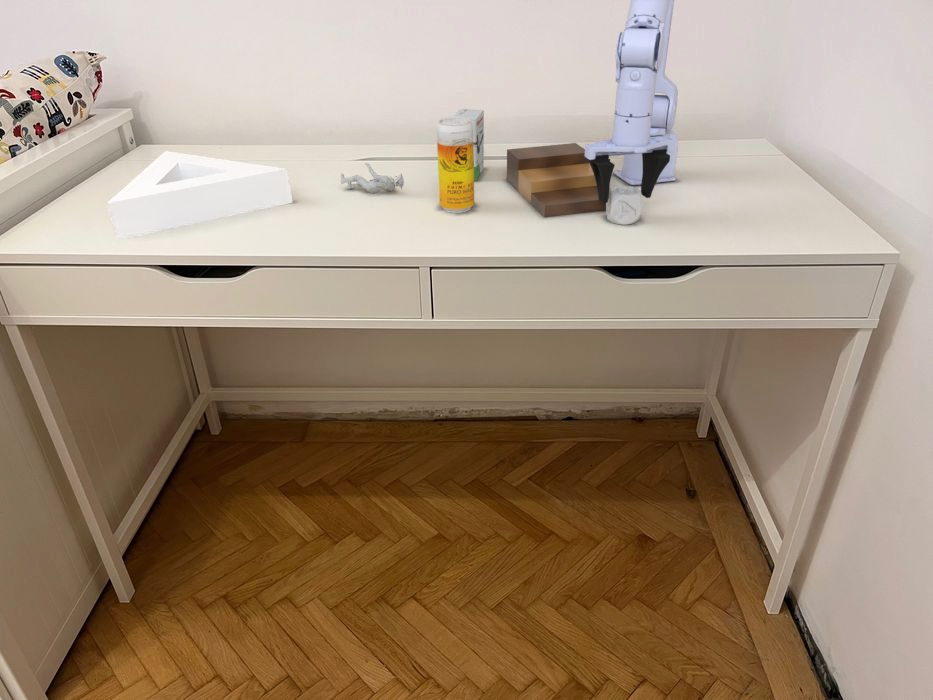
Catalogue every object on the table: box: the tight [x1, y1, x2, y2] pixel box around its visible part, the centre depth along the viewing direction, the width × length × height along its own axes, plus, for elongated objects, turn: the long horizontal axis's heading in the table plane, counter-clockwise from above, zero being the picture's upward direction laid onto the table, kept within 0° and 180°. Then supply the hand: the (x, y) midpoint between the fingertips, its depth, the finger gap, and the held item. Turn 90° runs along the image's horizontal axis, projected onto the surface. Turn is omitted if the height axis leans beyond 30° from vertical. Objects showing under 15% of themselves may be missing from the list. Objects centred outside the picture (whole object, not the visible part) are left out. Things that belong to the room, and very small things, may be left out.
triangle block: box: [106, 150, 294, 241], centre depth 127 cm, size 30×26×6 cm
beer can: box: [436, 116, 475, 214], centre depth 118 cm, size 6×6×15 cm
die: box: [605, 185, 643, 226], centre depth 115 cm, size 5×5×5 cm
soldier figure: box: [340, 162, 405, 194], centre depth 129 cm, size 8×5×12 cm
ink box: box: [452, 108, 485, 181], centre depth 136 cm, size 9×5×12 cm, turn 168°
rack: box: [506, 142, 611, 218], centre depth 126 cm, size 14×21×6 cm, turn 15°
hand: (624, 198), depth 114 cm, fingers open, 7 cm apart
